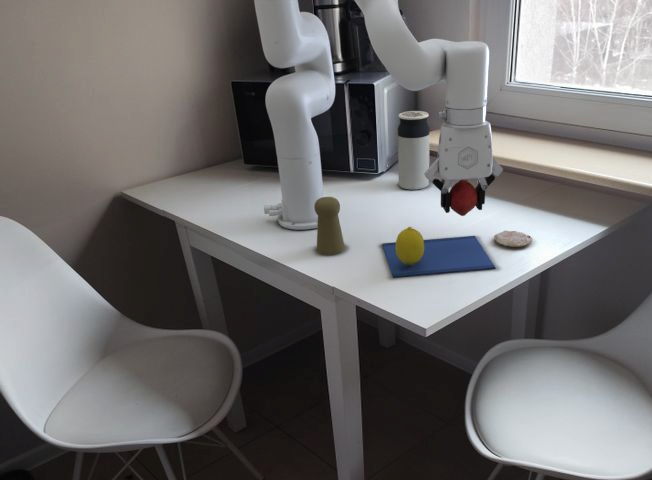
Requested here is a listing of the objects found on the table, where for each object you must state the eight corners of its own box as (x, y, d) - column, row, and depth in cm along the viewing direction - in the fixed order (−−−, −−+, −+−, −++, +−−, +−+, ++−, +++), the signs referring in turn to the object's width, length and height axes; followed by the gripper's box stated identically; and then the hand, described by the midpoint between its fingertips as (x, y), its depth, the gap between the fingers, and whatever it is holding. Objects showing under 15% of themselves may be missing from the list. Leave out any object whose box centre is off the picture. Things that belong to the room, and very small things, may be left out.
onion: (458, 223, 122) (459, 183, 118) (442, 214, 127) (442, 175, 122) (482, 217, 124) (484, 177, 120) (465, 208, 129) (467, 170, 124)
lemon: (422, 272, 119) (422, 233, 114) (393, 271, 120) (392, 232, 115) (425, 260, 123) (426, 222, 119) (398, 259, 124) (397, 221, 120)
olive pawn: (322, 257, 127) (317, 205, 121) (312, 247, 132) (307, 196, 126) (349, 251, 129) (345, 200, 123) (339, 241, 134) (335, 191, 128)
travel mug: (409, 192, 159) (408, 119, 149) (393, 184, 165) (391, 113, 155) (435, 186, 162) (435, 114, 152) (418, 178, 168) (417, 109, 158)
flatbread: (538, 244, 128) (539, 240, 127) (506, 251, 126) (507, 246, 125) (517, 231, 134) (518, 226, 134) (486, 237, 132) (487, 232, 131)
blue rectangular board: (392, 278, 118) (392, 276, 118) (382, 244, 131) (382, 243, 131) (495, 268, 119) (495, 267, 119) (474, 237, 133) (474, 235, 133)
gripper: (423, 123, 111) (423, 219, 121) (517, 116, 112) (509, 212, 122) (416, 114, 118) (417, 206, 127) (505, 108, 119) (499, 199, 129)
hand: (462, 208), depth 125 cm, fingers closed on onion, 5 cm apart
